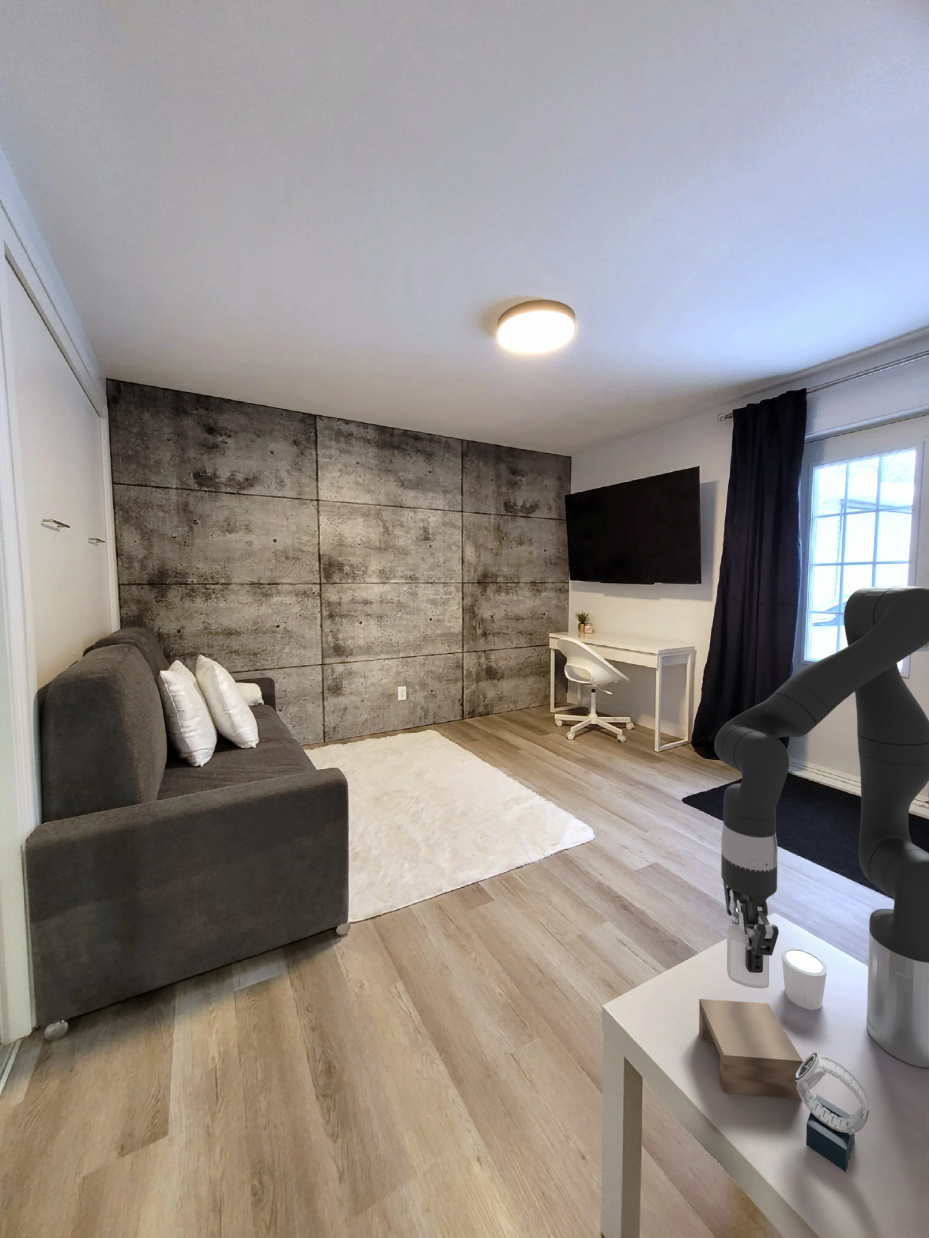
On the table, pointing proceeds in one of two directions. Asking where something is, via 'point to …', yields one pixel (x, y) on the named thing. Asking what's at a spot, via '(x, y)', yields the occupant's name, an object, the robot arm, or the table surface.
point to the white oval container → (804, 978)
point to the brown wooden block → (750, 1048)
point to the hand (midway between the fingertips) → (747, 959)
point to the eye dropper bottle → (743, 960)
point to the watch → (830, 1111)
